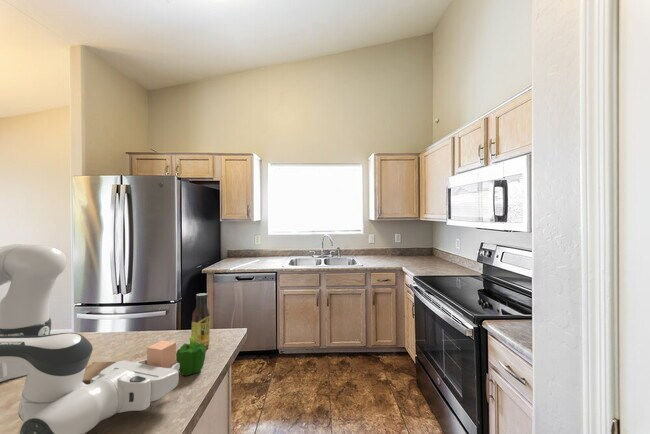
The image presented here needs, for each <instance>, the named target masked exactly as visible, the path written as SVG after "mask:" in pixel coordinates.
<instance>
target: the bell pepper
mask: <svg viewBox="0 0 650 434" xmlns="http://www.w3.org/2000/svg"><path fill="white" fill-rule="evenodd" d="M206 351H207V349H206V347H205V345H204V344H199V343H197V342H193V337H191V336H190V337H189V343H183V344H182V345H181V346H180V348H178V349H177V350H176V363H180V368H179V370H178V372H179V373H180V374H181V375H182V376H190V375H192V374H198V373H200V372H201V370H202V369H203V367H204V363H205V361H206V360H205V359H206Z"/></svg>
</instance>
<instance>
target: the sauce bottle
mask: <svg viewBox="0 0 650 434" xmlns="http://www.w3.org/2000/svg"><path fill="white" fill-rule="evenodd" d="M208 298H209V296H208V293H207V292H206V293H205V292H203V293H197V294H195V304H196V305H195V308H194V309H193V312H192V315H191V318H192V319H191V332H190V335H191V336H190V337H193V342H197V343H199V344H204V345H205V347H206V350H208V348H209V346H210V338H211V337H210V335H211V332H210V331H211V313H210V311H209V307H208Z"/></svg>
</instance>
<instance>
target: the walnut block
mask: <svg viewBox="0 0 650 434" xmlns="http://www.w3.org/2000/svg"><path fill="white" fill-rule="evenodd" d="M116 362H117V361H94V362H93V363H91V364H89V365H87V366H86V369H85V373H84V377H83V381H82V382H83V383H85V384H90V381H91V379H92V378H94V377H96V376H98V375H99V373H100V372H101V371H102V370H104V369H105V368H107V367H109V366H110V365H112V364H114V363H116Z"/></svg>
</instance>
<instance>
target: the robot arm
mask: <svg viewBox="0 0 650 434" xmlns="http://www.w3.org/2000/svg"><path fill="white" fill-rule="evenodd" d="M67 263H68V259H67V257H66V254H65V253H64V252H63V251H61V250H60V249H58V248H55V247H52V246H49V245H43V244H39V245H38V244H16V243H15V244H10V245H3V246H0V286H4V285H5V284H8V283H9V287H8V290H7V292H6V294H5V296H3V298H2V299H1V301H0V383H1V382H4V381H7V380H12V379H16V378H19V377H20V378H21V377H23V376H24V377H25V376H26V377H25V382H24V386H23V389H22V393H21V396H20V400H19V404H18V417H19V418H20V420H21V421H22V425H21V427H20V429H19V434H86V433H87V432H89V431H91V430H92V429H93V428H94V427H95V426H97V425H98V424H99V423H100V422H101V421H103V420H106V419H108V418H111V417H112V416H114V415H116V414H120V413H125V412H135V411H138V412H139V411H145V410H146V409H147V408H149V407H150V406H151V402H154V401H158V400H159V399H161V398H163V397H164V396H166V395H167V394H168V393H170V392H172V391H173V390H174V389H175V388H177V386H178V385H179V376H180V375H179V373H180V372H179V368H180V363H177V362H176V363H173V364H171V368H163V367H157V366H152V365H147V357H146V358H145V359H141V360H136V361H129V360H120V361H115V362H116V363H114V364H112V365H110V366H109V367H107V368H105V369H104V370H102V371H101V372H100V373H99V375H98V376H96V377H94V378H92V379H91V381H90V384H85V383H83V382H82V381H83V377H84V373H85V369H86V367H88V364H89V361H90V358H91V355H92V352H93V349H94V348H93V345H92V343H91V342H90V341H89V339H87V337H85V336H83V335H82V334H80V333H76V332H62V333H60V332H59V333H53V334H51V331H52V319H51V318H50V313H51V312H50V311H51V310H50V309H51V295H52V292H53V288H54V285H55V282H56V281H57V278H58V276H60V275H61V274H62V272H64V270H65V269H66V267H67Z"/></svg>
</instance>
